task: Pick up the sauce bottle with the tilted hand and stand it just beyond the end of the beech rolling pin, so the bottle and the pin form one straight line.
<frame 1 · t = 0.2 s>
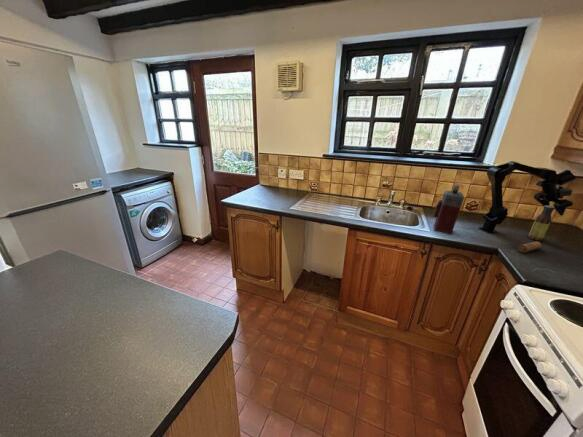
hand: (554, 212, 139), 15 cm above the countertop, tool tilted 35°, fingers open, 9 cm apart
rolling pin: (528, 250, 128), on the countertop
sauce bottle: (534, 238, 140), on the countertop
red bottle: (440, 229, 147), on the countertop
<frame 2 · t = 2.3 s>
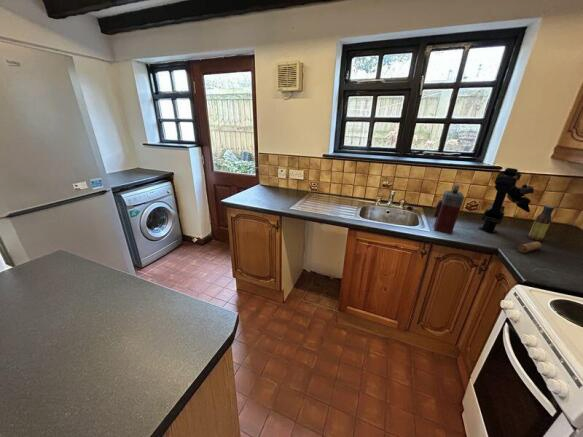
hand: (525, 209, 148), 13 cm above the countertop, tool tilted 45°, fingers open, 9 cm apart
nothing on the countertop moved.
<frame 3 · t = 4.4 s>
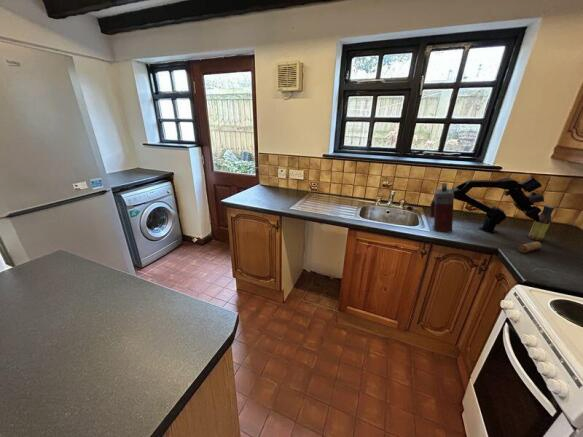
hand: (535, 218, 137), 12 cm above the countertop, tool tilted 45°, fingers open, 9 cm apart
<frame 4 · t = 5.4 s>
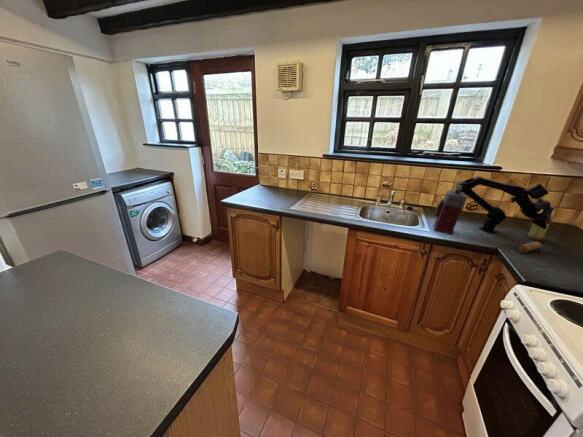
hand: (541, 225, 137), 9 cm above the countertop, tool tilted 45°, fingers open, 9 cm apart
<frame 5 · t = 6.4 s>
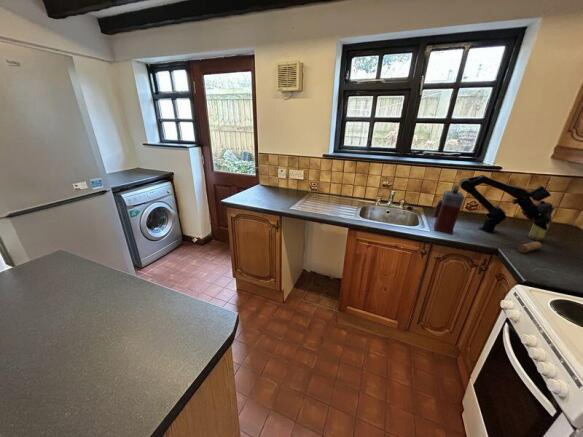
hand: (543, 227, 137), 8 cm above the countertop, tool tilted 45°, fingers closed on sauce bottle, 6 cm apart
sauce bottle: (534, 238, 140), on the countertop, touching gripper
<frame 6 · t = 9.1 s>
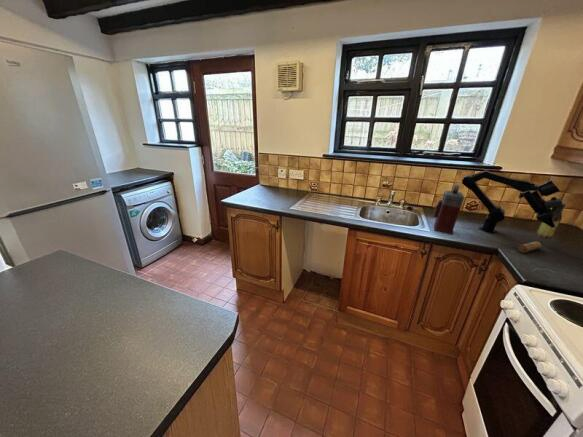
hand: (553, 225, 129), 12 cm above the countertop, tool tilted 45°, fingers closed on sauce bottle, 6 cm apart
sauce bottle: (542, 237, 133), point 4 cm above the countertop, touching gripper
everything else where it was.
when the fingers open (8 cm above the countertop, at t = 11.7 s): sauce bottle stays where it is, on the countertop.
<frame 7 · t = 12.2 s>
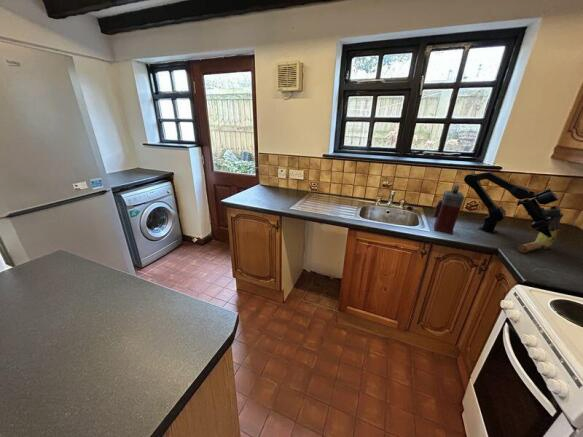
hand: (551, 234, 127), 8 cm above the countertop, tool tilted 45°, fingers open, 9 cm apart
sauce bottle: (540, 246, 132), on the countertop
everything else where it was.
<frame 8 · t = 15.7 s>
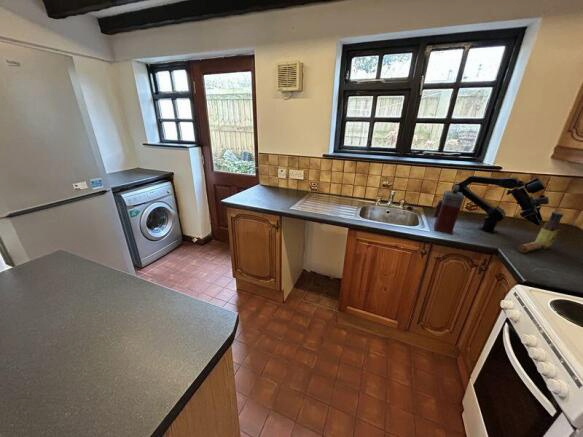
hand: (540, 222, 130), 13 cm above the countertop, tool tilted 45°, fingers open, 9 cm apart
nothing on the countertop moved.
at the end: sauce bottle 0.6 cm from the target spot on the countertop beside the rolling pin, on the countertop; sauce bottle tilted 0°; the gripper is holding nothing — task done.
